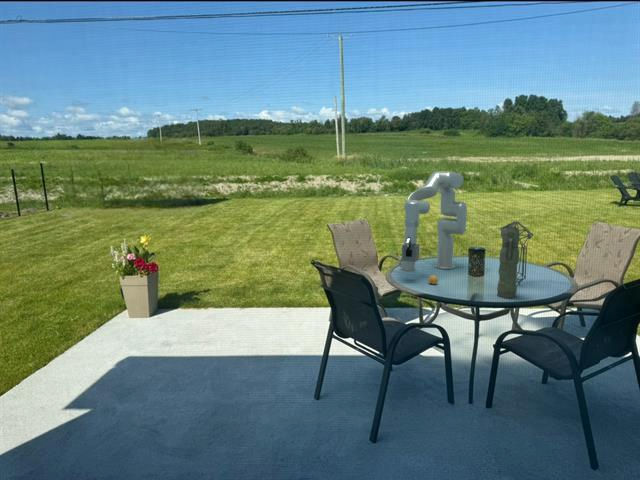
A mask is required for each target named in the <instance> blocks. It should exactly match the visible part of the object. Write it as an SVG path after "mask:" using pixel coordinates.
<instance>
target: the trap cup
mask: <svg viewBox="0 0 640 480" xmlns="http://www.w3.org/2000/svg"><path fill="white" fill-rule="evenodd" d="M411 250H412V256H411V257H407V256H406V245H405V244H404V243H403V244H402V245H401V257H402V261H401V262H403V261H409V262H415V263H416V262H417V261H419V260H420V243H416V244H413V245H412V248H411Z"/></svg>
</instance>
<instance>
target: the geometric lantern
mask: <svg viewBox="0 0 640 480" xmlns="http://www.w3.org/2000/svg"><path fill="white" fill-rule="evenodd" d="M519 226H520V227H521V228H522V229H519ZM505 227H517V228H518V230H519V234H520V235H519V244H518V245H521V247H518V249H520V253H519V263H518V270H517V276H516V283H517V282H518V283H517V286H518V285H519V286H521V282H523V281H524V280H526V279H527V255H528V254H527V249H528V248H527V247H528V245H529V241H530V239H531V238H532V237H533V236H534V234H533V232H531V231H530V229H529V228H527V227H526V226H524V225H523V224H522V223H521V222H520V221H512V222H511V223H508V224H506V225H504V226H502V227H500V228H499V230H500V237H501V239H502V238H503V231H504V229H505ZM520 231H521V232H520ZM524 232H527V234H523V233H524ZM520 236H521V238H520ZM525 238H526V239H525ZM523 239H525V241H524V242H523V241H522V240H523ZM525 244H526V245H525ZM521 260H522V261H521ZM520 271H521V272H520ZM498 275H500V265H499V267H498ZM518 275H519V276H518ZM520 277H521V278H520Z"/></svg>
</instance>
